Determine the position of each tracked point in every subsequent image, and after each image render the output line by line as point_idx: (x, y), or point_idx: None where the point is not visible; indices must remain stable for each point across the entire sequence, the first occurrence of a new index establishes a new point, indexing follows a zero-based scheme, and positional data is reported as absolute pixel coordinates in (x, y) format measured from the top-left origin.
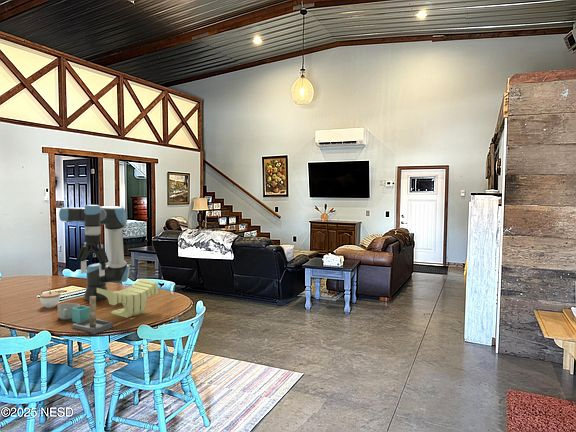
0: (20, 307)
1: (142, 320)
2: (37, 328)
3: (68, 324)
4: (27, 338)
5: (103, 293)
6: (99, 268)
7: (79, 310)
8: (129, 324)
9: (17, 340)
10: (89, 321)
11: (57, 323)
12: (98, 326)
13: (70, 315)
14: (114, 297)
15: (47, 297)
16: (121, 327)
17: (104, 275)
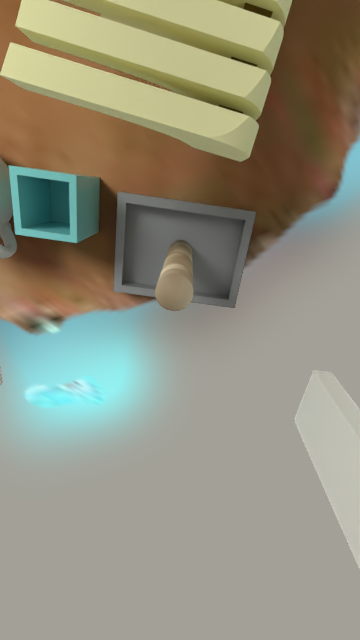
0: None
1: (338, 56)
2: (5, 318)
3: (57, 248)
4: (70, 387)
5: (117, 116)
6: (338, 512)
7: (73, 241)
8: (302, 148)
9: (61, 403)
10: (127, 214)
11: None
12: (204, 245)
13: (10, 212)
14: (250, 152)
15: None
16: (288, 199)
17: (329, 374)
